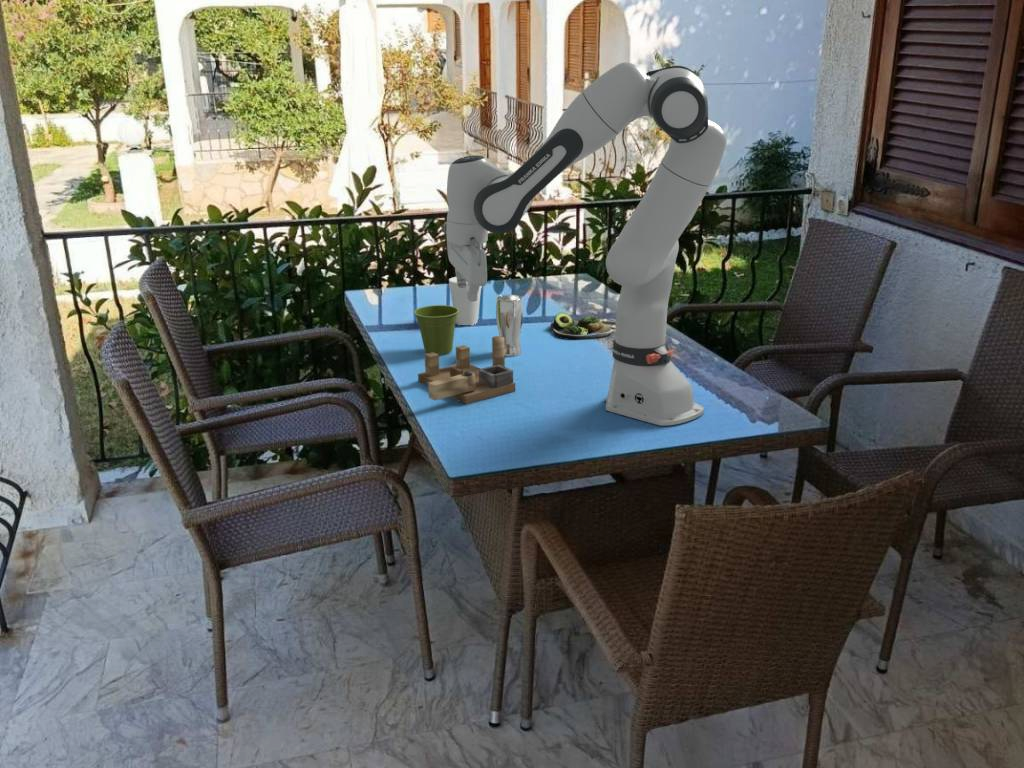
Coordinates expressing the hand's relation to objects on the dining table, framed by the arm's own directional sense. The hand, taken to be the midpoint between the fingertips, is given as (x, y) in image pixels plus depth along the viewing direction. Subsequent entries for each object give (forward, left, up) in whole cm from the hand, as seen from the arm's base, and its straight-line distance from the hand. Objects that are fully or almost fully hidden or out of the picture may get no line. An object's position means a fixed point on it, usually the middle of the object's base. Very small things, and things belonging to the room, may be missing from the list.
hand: (466, 293), depth 205 cm
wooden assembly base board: (+6, -3, -24) cm, 25 cm away
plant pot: (+33, -13, -24) cm, 43 cm away
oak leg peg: (+9, -15, -24) cm, 30 cm away
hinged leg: (-2, +5, -22) cm, 23 cm away
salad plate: (+24, -55, -25) cm, 65 cm away
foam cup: (+51, -35, -24) cm, 67 cm away
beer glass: (+20, -27, -24) cm, 42 cm away
